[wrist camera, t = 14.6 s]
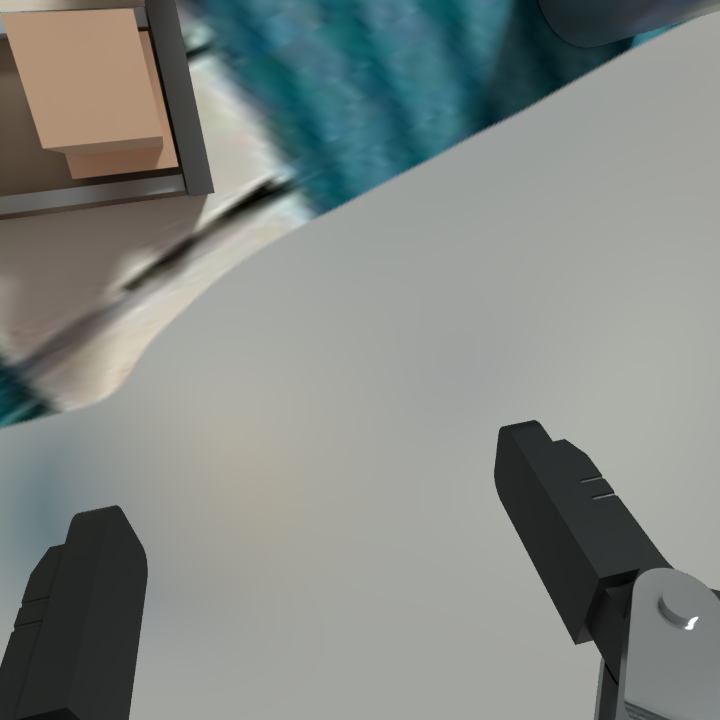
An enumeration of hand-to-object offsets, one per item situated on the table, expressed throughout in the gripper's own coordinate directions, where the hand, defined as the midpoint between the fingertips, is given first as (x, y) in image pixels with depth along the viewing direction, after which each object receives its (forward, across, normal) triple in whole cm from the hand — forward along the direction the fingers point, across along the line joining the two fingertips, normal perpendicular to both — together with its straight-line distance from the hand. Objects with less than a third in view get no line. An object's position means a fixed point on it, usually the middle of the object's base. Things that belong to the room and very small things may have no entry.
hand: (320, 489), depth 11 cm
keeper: (+24, +7, -4) cm, 25 cm away
